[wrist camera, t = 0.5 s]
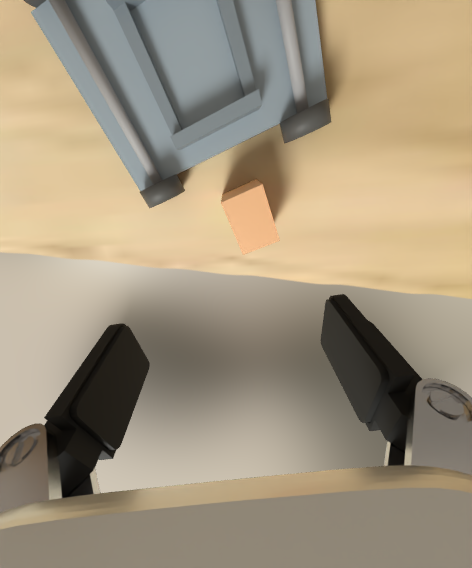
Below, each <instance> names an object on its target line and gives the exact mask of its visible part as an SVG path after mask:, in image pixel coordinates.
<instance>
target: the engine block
mask: <svg viewBox="0 0 472 568" xmlns="http://www.w3.org/2000/svg"><path fill="white" fill-rule="evenodd" d="M221 204H222V206H223V209H224V211H225V213H226V216H227V218H228V220H229V223H230V225H231V227H232V230H233V232H234V234H235V237H236V239H237V242H238V244H239V246H240V249H241V251H242V253H243V255H244V254H247V253H249V252H252V251H254V250H257V249H260V248H262V247H265V246H267V245H270V244H272V243H275V242H278V241H280V240H279V236H278V233H277V230H276V226H275V223H274V220H273V217H272V213H271V210H270V207H269V203H268V200H267V197H266V194H265V190H264V187H263V184H262V183H261V182H259V181H258V180H257V179H255V180H253V181H251V182H249V183H247V184H244V185H242V186H240V187H238V188H236V189H233V190H231V191H229V192H227V193H225V194H222V200H221Z"/></svg>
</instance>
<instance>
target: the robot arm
mask: <svg viewBox="0 0 472 568" xmlns="http://www.w3.org/2000/svg"><path fill="white" fill-rule="evenodd" d="M321 345H322V347H323V350H324V351H325V353H326V355H327V357H328V359H329V361H330V363H331V365H332V367H333V369H334V371H335V373H336V375H337V377H338V379H339V381H340V383H341V385H342V386H343V389H344V391H345V393H346V394H347V397H348V399H349V401H350V403H351V405H352V406H353V408H354V410H355V412H356V414H357V416H358V418H359V420H360V421H361V422H362V423H366V425H367V427H368V429H369V431H376V430H381V432H382V434H383V435H384V437H385V439H386V440H387V448H386V455H385V462H384V466H379V467H366V468H352V469H340V470H339V469H338V470H327V471H317V472H306V473H296V474H285V475H275V476H265V477H254V478H245V479H234V480H224V481H214V482H204V483H195V484H185V485H175V486H165V487H156V488H146V489H137V490H127V491H119V492H109V493H101V492H100V488H99V484H98V479H97V474H96V469H95V466H96V463H97V461H98V459H99V460H104V459H113V457H114V454H115V451H116V449H118V448H119V447H120V445H121V443H122V441H123V438H124V435H125V432H126V430H127V427H128V424H129V421H130V419H131V416H132V413H133V411H134V408H135V405H136V402H137V400H138V397H139V394H140V392H141V389H142V386H143V383H144V381H145V378H146V375H147V373H148V370H149V361H148V359H147V357H146V356H145V354H144V352H143V350H142V349H141V347H140V345H139V343H138V342H137V340H136V338H135V336H134V335H133V333H132V331H131V330H130V328H129V327H128V326H126V325H125V324H115V325H110V326H109V327H108V328H107V329H106V330H105V332H104V333H103V335H102V336H101V338H100V339H99V341H98V342H97V343H96V345H95V346H94V348H93V349H92V350H91V352H90V353H89V355H88V356H87V358H86V359H85V360H84V362H83V363H82V365H81V366H80V368H79V369H78V370H77V372H76V373H75V375H74V376H73V377H72V379H71V380H70V382H69V383H68V385H67V386H66V388H65V389H64V390H63V392H62V393H61V395H60V396H59V397H58V399H57V400H56V402H55V403H54V405H53V406H52V407H51V409H50V410H49V412H48V413H47V414H46V416H45V417H44V418H45V419H47V420H48V421H47V422H46V424H45V425H42V424H33V425H30V426H27V427H25V428H23V429H21V430H20V431H18V432H17V433H16V434H14V435H13V436H11V437H10V438H9V439H8V440H7V441H6V442H5V443H4V444H3V445H2V446H1V447H0V568H472V398H471V397H470V396H469V395H468V394H467V393H466V392H464V391H463V390H461V389H460V388H458V387H457V386H455V385H452V384H450V383H448V382H446V381H442V380H439V379H431V378H428V379H423V380H422V378H421V377H420V376H419V375H418V374H417V373H416V372H415V371H414V369H413V368H412V367H411V366H410V365H409V364H408V363H407V362H406V360H405V359H404V358H403V357H402V356H401V355H400V354H399V352H398V351H397V350H396V349H395V348H394V347H393V346H392V345H391V343H390V342H389V341H388V340H387V339H386V338H385V337H384V336H383V334H382V333H381V332H380V331H379V330H378V329H377V328H376V327H375V326H374V324H372V323H371V322H370V321H368V320H367V319H366V318H365V317H364V316H363V315H362V313H361V312H360V311H359V310H358V309H357V308H356V307H355V305H354V304H353V303H352V302H351V301H350V300H349V299H348V297H347V296H346V295H344V294H342V295H334V296H330V298H329V300H326V304H325V311H324V320H323V327H322V334H321Z"/></svg>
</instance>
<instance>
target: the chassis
mask: <svg viewBox="0 0 472 568" xmlns="http://www.w3.org/2000/svg"><path fill="white" fill-rule="evenodd" d="M24 1H25V2H26V3H28V4H30V5H31V6H34V7H36V9H35V10H33V11H32V12H31V13H32V15H33V17H34V18H35V20H36V21H37V23H38V25H39V26H40V28H41V30H42V31H43V33H44V35H45V36H46V38H47V39H48V41H49V43H50V44H51V46H52V48H53V49H54V51H55V53H56V54H57V56H58V57H59V59H60V61H61V62H62V64H63V66H64V67H65V69H66V70H67V72H68V74H69V75H70V77H71V79H72V80H73V82H74V84H75V85H76V87H77V88H78V90H79V92H80V93H81V95H82V97H83V98H84V100H85V102H86V103H87V105H88V106H89V108H90V110H91V111H92V113H93V115H94V116H95V118H96V119H97V121H98V123H99V124H100V126H101V128H102V129H103V131H104V133H105V134H106V136H107V137H108V139H109V141H110V142H111V144H112V146H113V147H114V149H115V151H116V152H117V154H118V155H119V157H120V159H121V160H122V162H123V164H124V165H125V167H126V168H127V170H128V172H129V173H130V175H131V177H132V178H133V180H134V182H135V183H136V185H137V186H138V188H139V190H140V193H141V195H142V197H143V198H144V200H145V201H146V203H147V205H148V206H149V208H152V207H154V206H156V205H158V204H161V203H163V202H165V201H167V200H169V199H171V198H173V197H175V196H177V195H179V194H180V193H182V192H184V191H185V190H184V188H183V186H182V184H181V182H180V180H179V178H178V176H177V174H179V173H181V172H183V171H185V170H187V169H189V168H191V167H193V166H195V165H197V164H199V163H201V162H203V161H205V160H207V159H209V158H211V157H213V156H215V155H217V154H219V153H221V152H223V151H225V150H227V149H230V148H232V147H234V146H236V145H238V144H240V143H242V142H244V141H246V140H248V139H250V138H252V137H254V136H256V135H258V134H260V133H262V132H264V131H266V130H268V129H270V128H272V127H274V126H276V125H278V124H280V126H281V131H282V135H283V140H284V143H287V142H290V141H292V140H295V139H297V138H299V137H302V136H304V135H306V134H308V133H311V132H313V131H315V130H317V129H319V128H321V127H323V126H325V125H327V124H329V123H330V122H331V116H330V107H329V99H327V93H326V85H325V76H324V68H323V60H322V52H321V43H320V35H319V27H318V19H317V10H316V2H315V0H24Z"/></svg>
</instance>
